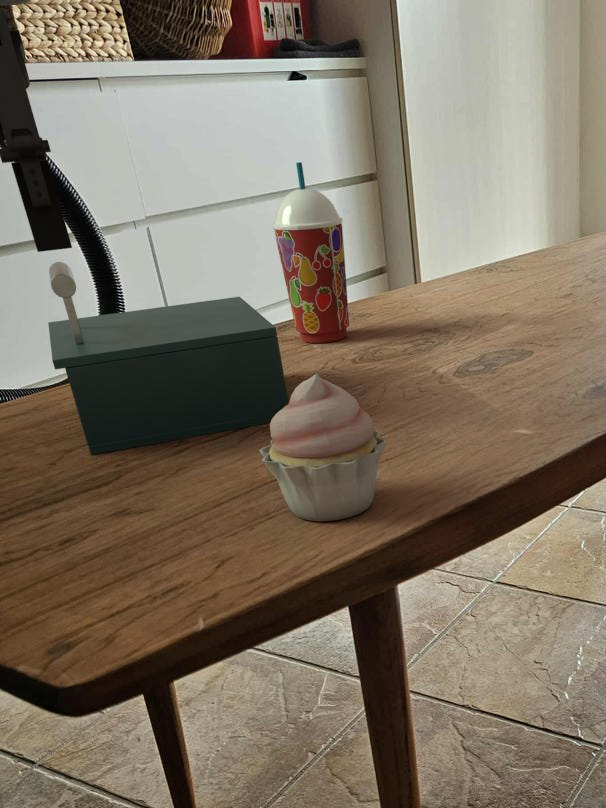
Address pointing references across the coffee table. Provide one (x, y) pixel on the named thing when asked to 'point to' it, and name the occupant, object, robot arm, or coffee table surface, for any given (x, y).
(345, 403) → the cupcake
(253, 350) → the dark green box
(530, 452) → the coffee table surface
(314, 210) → the smoothie
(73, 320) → the lid
